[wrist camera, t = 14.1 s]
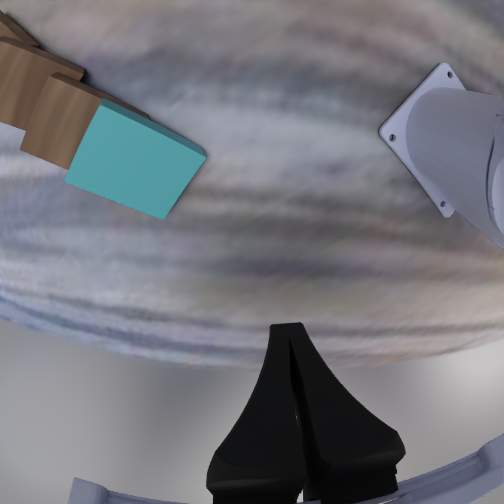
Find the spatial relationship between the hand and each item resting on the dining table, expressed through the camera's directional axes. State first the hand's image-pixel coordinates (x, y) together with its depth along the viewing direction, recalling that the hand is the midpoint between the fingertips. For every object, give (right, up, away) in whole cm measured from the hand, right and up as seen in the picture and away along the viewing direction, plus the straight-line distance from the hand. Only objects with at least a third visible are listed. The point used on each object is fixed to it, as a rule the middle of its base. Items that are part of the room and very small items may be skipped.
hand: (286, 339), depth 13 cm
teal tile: (-6, +8, +6) cm, 12 cm away
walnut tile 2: (-9, +10, +4) cm, 14 cm away
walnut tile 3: (-14, +13, +2) cm, 19 cm away
